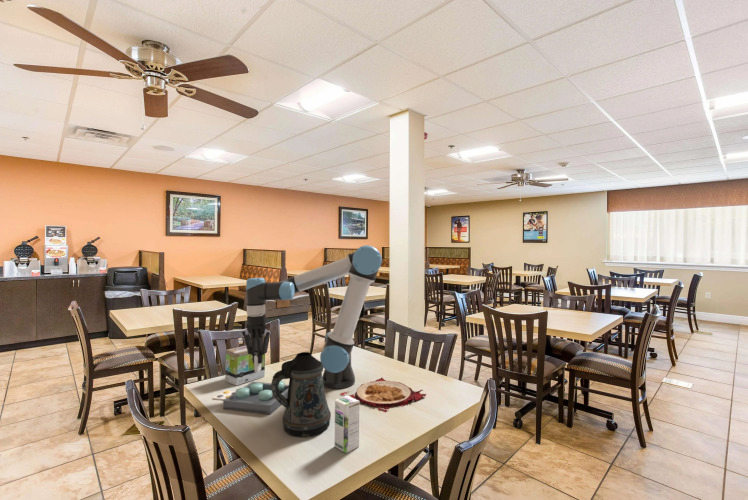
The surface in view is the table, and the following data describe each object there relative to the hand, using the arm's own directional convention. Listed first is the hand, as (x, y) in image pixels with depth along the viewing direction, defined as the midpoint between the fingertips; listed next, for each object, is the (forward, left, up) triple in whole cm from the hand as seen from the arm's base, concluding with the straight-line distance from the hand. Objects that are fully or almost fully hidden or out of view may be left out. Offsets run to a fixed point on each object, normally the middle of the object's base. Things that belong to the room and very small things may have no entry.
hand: (257, 370), depth 151 cm
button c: (+1, 0, -9) cm, 9 cm away
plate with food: (-51, -11, -11) cm, 54 cm away
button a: (-9, 0, -7) cm, 12 cm away
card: (+12, +4, -10) cm, 16 cm away
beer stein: (-30, +21, -10) cm, 38 cm away
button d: (+1, +10, -7) cm, 12 cm away
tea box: (+16, -15, -10) cm, 24 cm away
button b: (-9, +10, -7) cm, 15 cm away
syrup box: (-48, +29, -10) cm, 57 cm away
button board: (-4, +5, -10) cm, 12 cm away
